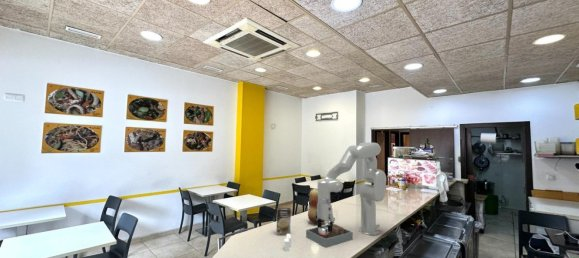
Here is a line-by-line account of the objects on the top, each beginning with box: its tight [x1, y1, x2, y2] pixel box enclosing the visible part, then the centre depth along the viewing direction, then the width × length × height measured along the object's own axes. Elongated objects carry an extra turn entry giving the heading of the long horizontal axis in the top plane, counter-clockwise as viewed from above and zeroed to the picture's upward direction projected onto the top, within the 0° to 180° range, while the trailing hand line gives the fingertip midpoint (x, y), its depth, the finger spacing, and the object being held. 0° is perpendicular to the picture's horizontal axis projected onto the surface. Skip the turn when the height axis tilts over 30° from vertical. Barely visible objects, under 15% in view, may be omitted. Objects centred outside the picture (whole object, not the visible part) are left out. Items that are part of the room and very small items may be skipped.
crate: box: [305, 224, 354, 249], centre depth 150 cm, size 22×18×5 cm
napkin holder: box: [283, 233, 292, 252], centre depth 139 cm, size 15×11×6 cm
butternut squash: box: [307, 188, 325, 225], centre depth 180 cm, size 14×13×25 cm
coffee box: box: [276, 207, 292, 236], centre depth 159 cm, size 9×6×16 cm
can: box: [318, 225, 329, 239], centre depth 147 cm, size 6×6×7 cm
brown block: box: [329, 223, 345, 237], centre depth 153 cm, size 6×8×6 cm
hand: (324, 229), depth 148 cm, fingers open, 9 cm apart
